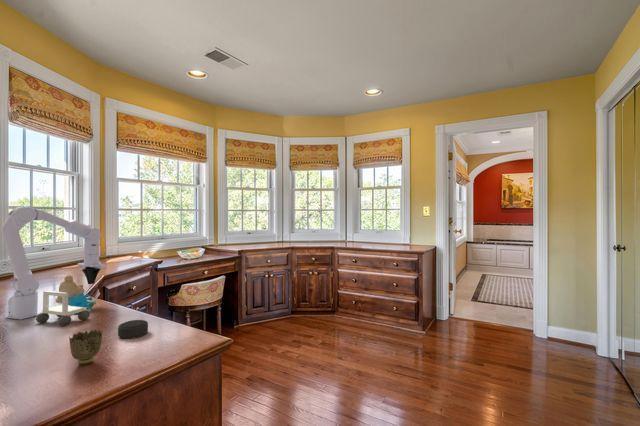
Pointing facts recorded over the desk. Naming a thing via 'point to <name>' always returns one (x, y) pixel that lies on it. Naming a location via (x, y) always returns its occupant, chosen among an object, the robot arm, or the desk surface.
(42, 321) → the cart
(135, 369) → the desk surface
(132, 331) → the smart speaker
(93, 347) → the cup
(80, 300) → the blue green toy
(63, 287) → the statue
